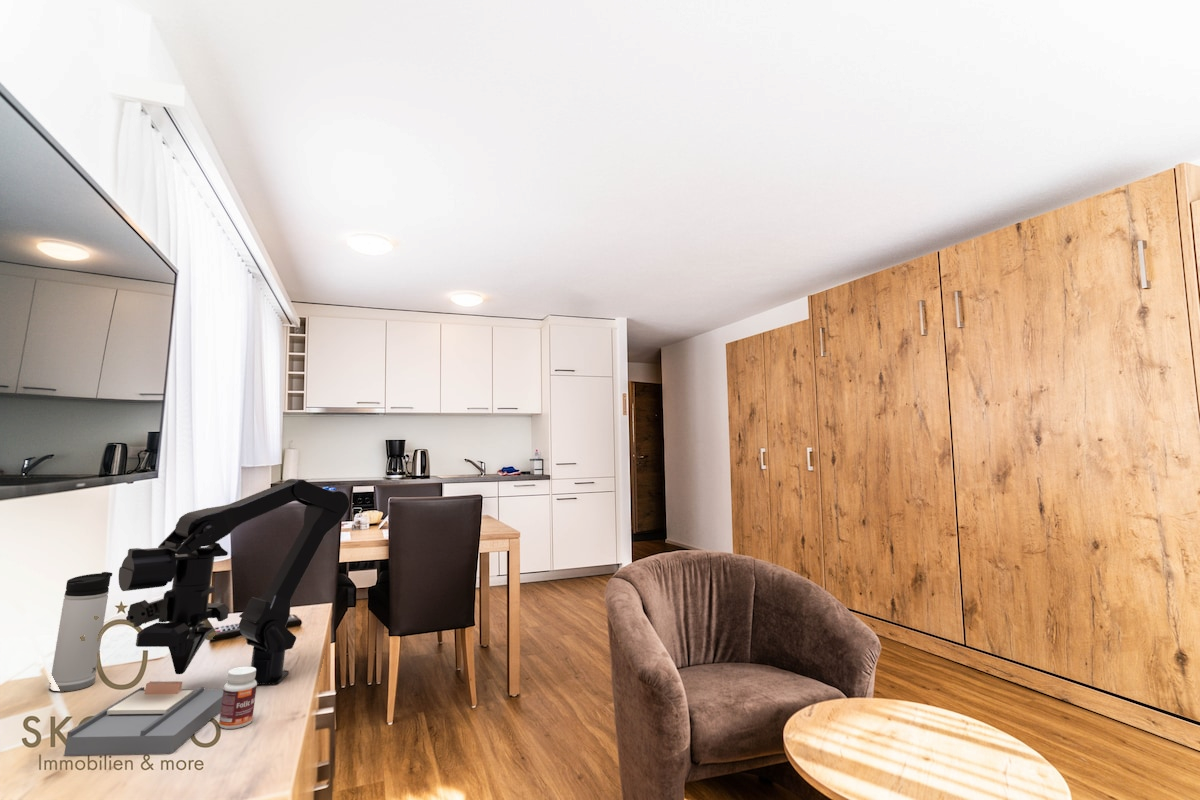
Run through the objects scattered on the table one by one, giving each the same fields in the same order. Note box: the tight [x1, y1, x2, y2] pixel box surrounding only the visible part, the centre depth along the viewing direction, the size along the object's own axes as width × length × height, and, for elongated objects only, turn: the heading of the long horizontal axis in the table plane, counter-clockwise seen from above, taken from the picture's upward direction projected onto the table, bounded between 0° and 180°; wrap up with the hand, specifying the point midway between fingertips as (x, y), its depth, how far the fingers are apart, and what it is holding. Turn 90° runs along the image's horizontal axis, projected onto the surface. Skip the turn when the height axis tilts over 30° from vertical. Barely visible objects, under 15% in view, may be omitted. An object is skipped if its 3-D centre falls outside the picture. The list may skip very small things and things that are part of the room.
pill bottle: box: [218, 666, 258, 730], centre depth 95 cm, size 5×5×8 cm
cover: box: [107, 680, 193, 714], centre depth 94 cm, size 8×8×2 cm
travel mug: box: [51, 571, 113, 693], centre depth 107 cm, size 6×7×20 cm
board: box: [63, 686, 224, 757], centre depth 92 cm, size 18×14×3 cm
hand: (179, 673), depth 102 cm, fingers closed
